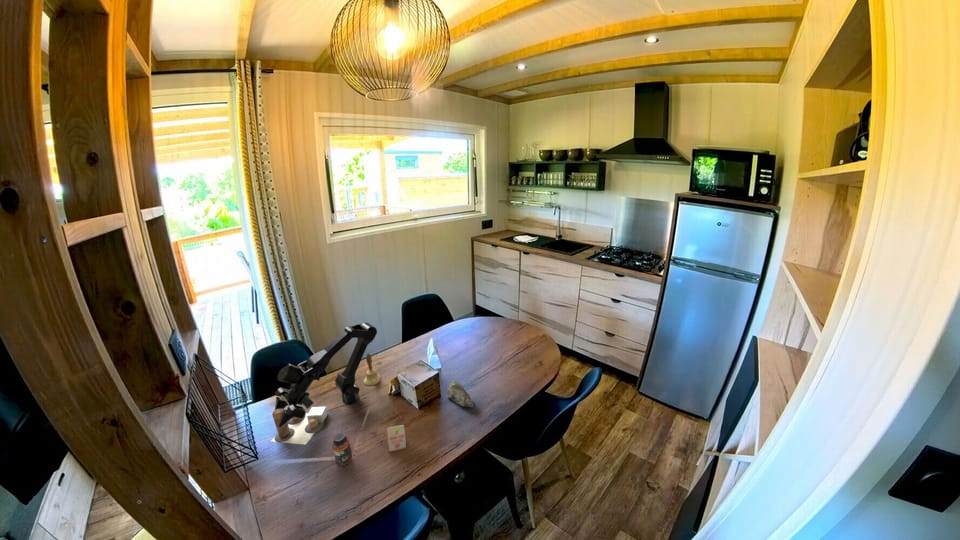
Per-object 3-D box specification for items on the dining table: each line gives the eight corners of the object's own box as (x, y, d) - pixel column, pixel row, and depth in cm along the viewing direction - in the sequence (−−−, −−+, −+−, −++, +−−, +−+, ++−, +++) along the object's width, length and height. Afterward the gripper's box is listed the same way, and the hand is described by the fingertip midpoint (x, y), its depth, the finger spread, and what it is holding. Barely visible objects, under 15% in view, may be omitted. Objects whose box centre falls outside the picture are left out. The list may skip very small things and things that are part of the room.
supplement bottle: (346, 450, 129) (342, 427, 125) (355, 457, 126) (351, 434, 122) (332, 461, 124) (327, 438, 121) (341, 469, 121) (337, 445, 117)
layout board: (331, 416, 146) (330, 409, 144) (309, 447, 130) (307, 439, 129) (294, 413, 148) (292, 406, 146) (268, 443, 132) (266, 435, 131)
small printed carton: (388, 444, 131) (385, 424, 128) (405, 440, 133) (403, 421, 130) (388, 452, 128) (385, 432, 125) (406, 448, 130) (404, 428, 126)
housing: (327, 413, 146) (325, 406, 145) (323, 422, 141) (321, 415, 140) (313, 414, 146) (311, 407, 144) (308, 423, 141) (306, 415, 140)
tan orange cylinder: (292, 432, 136) (286, 409, 132) (284, 439, 133) (277, 416, 128) (284, 429, 137) (278, 407, 133) (276, 437, 134) (269, 414, 129)
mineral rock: (473, 410, 149) (473, 392, 145) (450, 414, 146) (449, 396, 143) (467, 391, 160) (467, 374, 157) (446, 395, 158) (445, 378, 155)
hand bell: (377, 385, 165) (374, 358, 160) (361, 385, 165) (357, 358, 160) (382, 375, 173) (379, 348, 168) (367, 375, 173) (363, 348, 168)
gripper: (326, 401, 135) (303, 438, 131) (309, 381, 147) (287, 414, 143) (302, 395, 127) (277, 434, 123) (286, 374, 139) (263, 409, 136)
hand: (277, 422), depth 132 cm, fingers open, 6 cm apart
